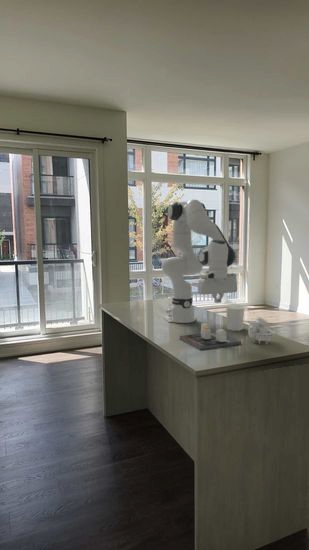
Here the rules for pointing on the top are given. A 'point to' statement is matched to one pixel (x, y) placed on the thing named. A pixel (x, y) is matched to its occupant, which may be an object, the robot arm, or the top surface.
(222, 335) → the breaker right
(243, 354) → the top surface
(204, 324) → the breaker left
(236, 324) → the candle holder
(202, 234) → the robot arm
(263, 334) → the mechanical part
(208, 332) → the breaker mid
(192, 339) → the panel
